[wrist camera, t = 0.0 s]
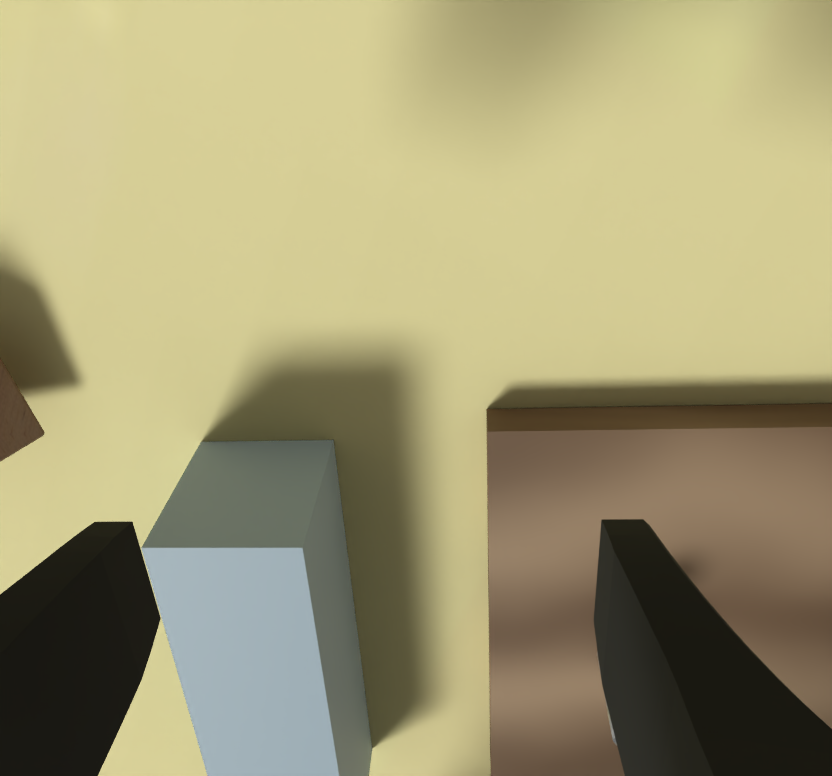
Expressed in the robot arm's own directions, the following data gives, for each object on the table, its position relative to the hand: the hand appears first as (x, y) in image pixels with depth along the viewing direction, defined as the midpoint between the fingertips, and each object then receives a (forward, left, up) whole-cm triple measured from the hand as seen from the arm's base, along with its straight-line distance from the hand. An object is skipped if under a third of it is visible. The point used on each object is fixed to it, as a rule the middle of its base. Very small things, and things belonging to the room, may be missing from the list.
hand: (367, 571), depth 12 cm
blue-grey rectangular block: (-11, +4, -10) cm, 16 cm away
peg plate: (-10, -11, -10) cm, 18 cm away
